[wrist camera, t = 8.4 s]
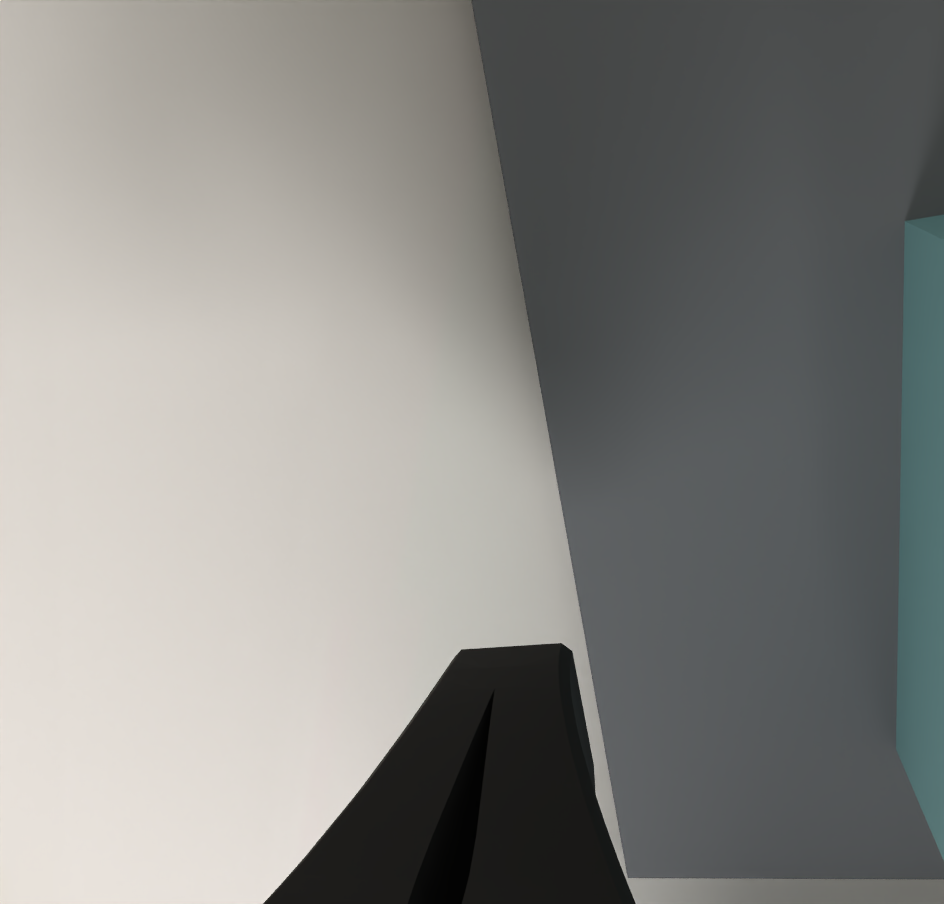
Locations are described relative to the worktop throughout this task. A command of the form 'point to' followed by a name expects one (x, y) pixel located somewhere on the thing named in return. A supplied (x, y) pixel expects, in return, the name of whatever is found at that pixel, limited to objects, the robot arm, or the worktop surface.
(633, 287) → the mat
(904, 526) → the block
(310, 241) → the worktop surface
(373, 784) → the robot arm
